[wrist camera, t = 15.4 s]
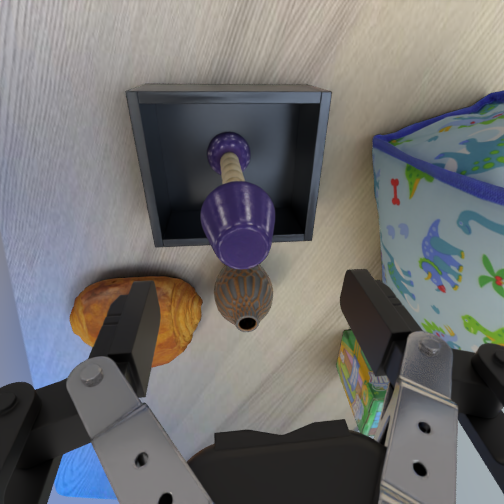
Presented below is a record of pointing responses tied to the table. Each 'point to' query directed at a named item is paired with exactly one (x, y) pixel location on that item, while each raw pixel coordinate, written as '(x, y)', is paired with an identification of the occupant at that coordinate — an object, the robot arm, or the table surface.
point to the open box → (220, 121)
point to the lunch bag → (446, 221)
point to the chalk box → (361, 384)
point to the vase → (243, 296)
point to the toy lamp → (236, 207)
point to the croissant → (171, 309)
